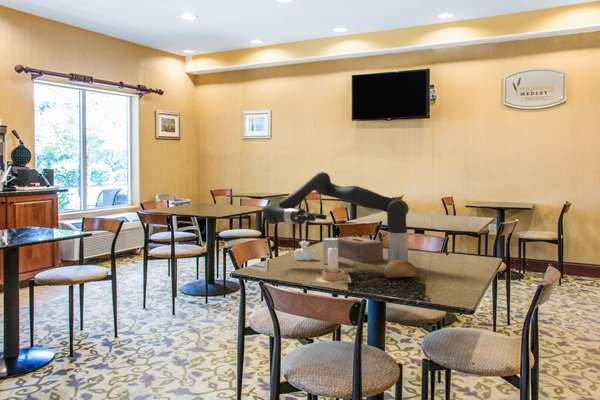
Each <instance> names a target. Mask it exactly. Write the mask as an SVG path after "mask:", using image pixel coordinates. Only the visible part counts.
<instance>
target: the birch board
mask: <svg viewBox="0 0 600 400" xmlns="http://www.w3.org/2000/svg"><path fill="white" fill-rule="evenodd" d="M315 283H326V284H327V283H330V284H331V283H333V284H334V283H335V284H336V283H337V284H339V283H342V284H345V283H352V279H351V275H350V274H344V279H343V280H339V281H328V280H324V279H322V273H321V274H318V273H317V274H315Z"/></svg>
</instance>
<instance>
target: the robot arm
mask: <svg viewBox="0 0 600 400" xmlns="http://www.w3.org/2000/svg"><path fill="white" fill-rule="evenodd" d="M314 191H315V192H316V193H317V194H319V195H321V196H325V197H331V198H334V199H335V198H336V199H338V200H341V201H344V202H347V203H351V204H352V205H356V206H359V207H362V208H367V209H374V210H379V211H382V212H385V213H386V219H387V222H386V223H387V224H386V225H387V229H388V230H387V231H388V234H387V236H388V237H387V238H388V241H387V242H388V243H387V244H388V246H387V251H388V252H387V253H388V254H387V257H388V258H387V265H388V264H389V263H390V262H391V261H395V260H405V261H408V262H409V249H408V226H407V214H408V213H409V205H408V203H407V202H406V201H405V200H403V199H399V198H392V197H389V196H384V195H382V194H379V193H377V192H374V191H372V190H370V189H367V188H364V187H361V186H359V185H349V186H340V185H337V184H335V183H332V181H331V178H330V175H329V174H328V173H327V172H325V171H324V172H323V171H322V172H318V173H316V174H315V175H313V176H312V177H311V178H309V180H308V181H307V182H305V183H304V184H303V185H301V186H300V187H299V188H298V189H296V190H295V191H294V192H292V193H291V194H288V195H287V196H286V197H284V198H283V199H280V200H279V202H278V205H277V204H274V203H268V204H266V205H264V207H263V208H262V214H263V215H264V217H265V220H266V221H267V223H268V224H270V225H275V224H277V223H278V222H281V223H287V224H295V225H303V224H305V222H315V221H316V220H320V221H321V220H327V215H326V214H323V213H316V212H307V211H306V210H305V209H304V208H297V207H298V206H299V205H300V204H302V203H303V201H304V200H305V198H307V197H308V196H309V195H310V194H312V193H313V192H314Z"/></svg>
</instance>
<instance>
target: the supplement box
mask: <svg viewBox="0 0 600 400" xmlns="http://www.w3.org/2000/svg"><path fill="white" fill-rule="evenodd" d="M338 238H339V237H325V238H323V241H322V244H323V245H322V249H323V250H322V255H323V256H322V257H323V259H322V261H323V262H322V263H323V264H324V265H328V248H332V246H333V248H338Z"/></svg>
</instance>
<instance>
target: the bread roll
mask: <svg viewBox="0 0 600 400" xmlns="http://www.w3.org/2000/svg"><path fill="white" fill-rule="evenodd" d="M417 273H418V271H417V268H416V266H415V265H414V264H413V263H412V262H410V261H409V260H408V261H405V260H395V261H391V262H390V263H389V264H388V263H387V265H386V267H385V268H384V269H383V275H384V277H386V278H387V279H391V278H413V277H415V276H417Z"/></svg>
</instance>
